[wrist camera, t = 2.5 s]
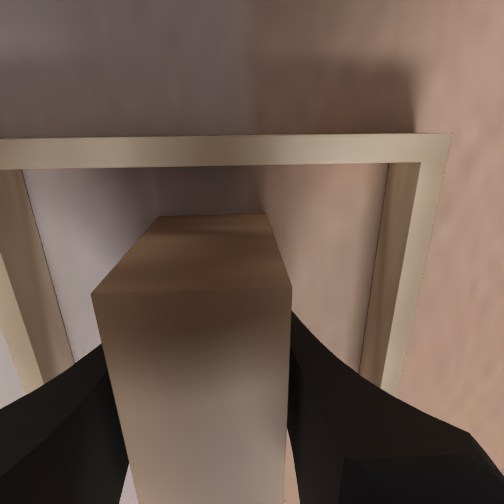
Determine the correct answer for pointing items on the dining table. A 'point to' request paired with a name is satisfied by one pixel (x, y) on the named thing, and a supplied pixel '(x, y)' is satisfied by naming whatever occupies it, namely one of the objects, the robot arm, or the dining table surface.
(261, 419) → the walnut block
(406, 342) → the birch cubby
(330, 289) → the dining table surface
